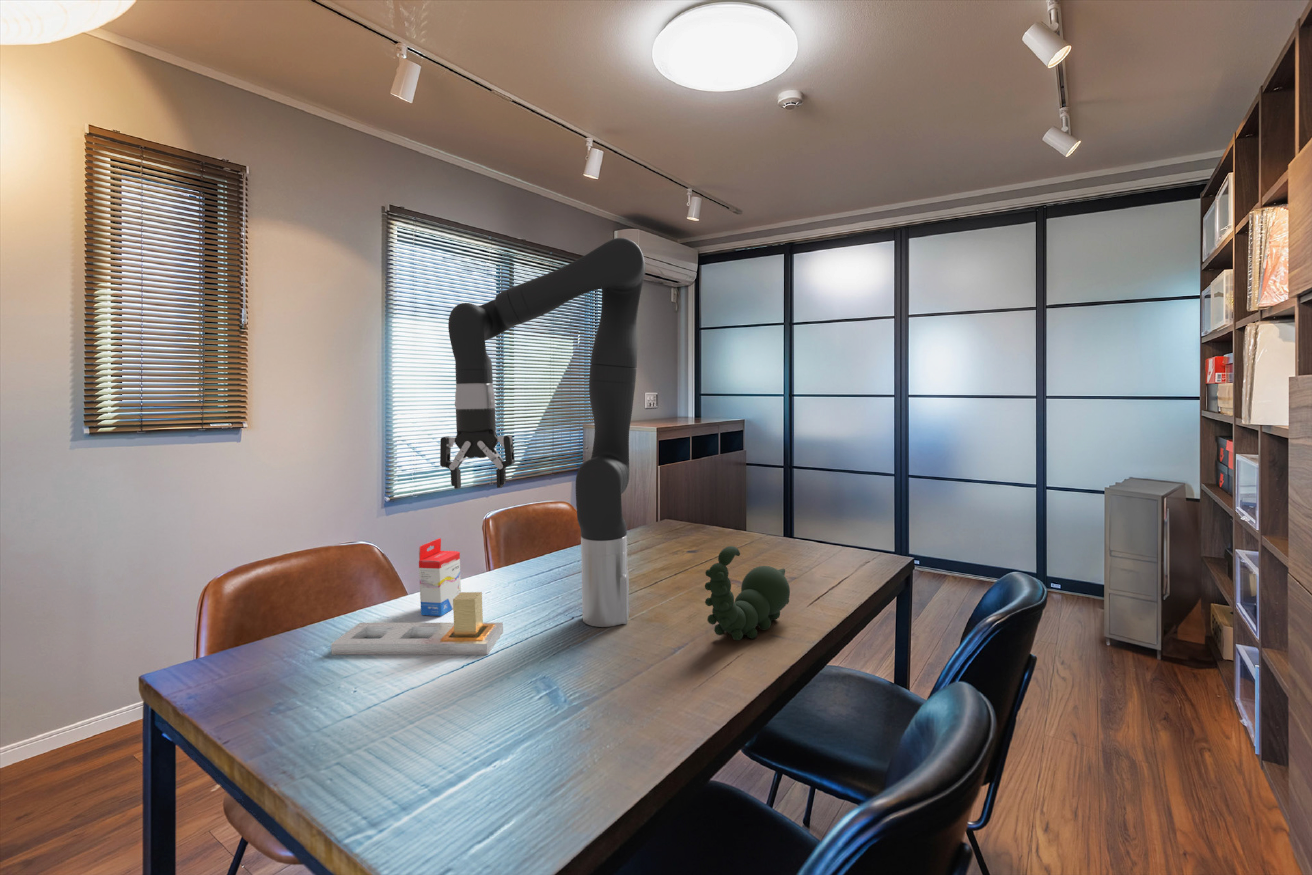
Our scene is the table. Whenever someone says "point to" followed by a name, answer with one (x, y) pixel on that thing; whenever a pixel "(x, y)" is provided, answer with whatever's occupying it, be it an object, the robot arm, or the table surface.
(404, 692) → the table surface
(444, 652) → the white flat slotted block
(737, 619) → the toy figurine
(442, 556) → the ink box
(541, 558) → the table surface
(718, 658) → the table surface
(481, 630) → the brass block
